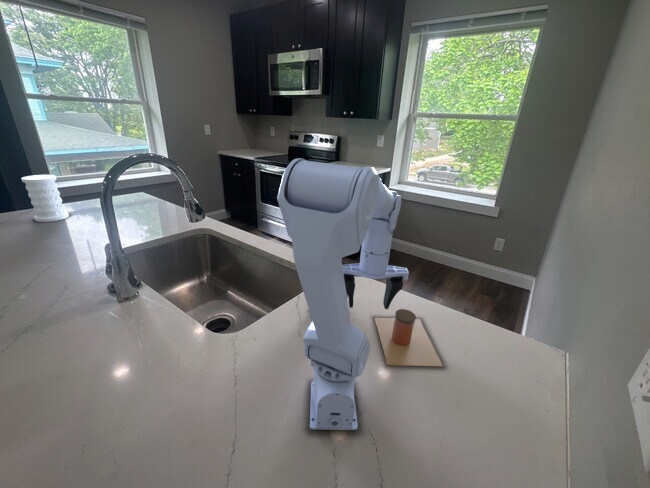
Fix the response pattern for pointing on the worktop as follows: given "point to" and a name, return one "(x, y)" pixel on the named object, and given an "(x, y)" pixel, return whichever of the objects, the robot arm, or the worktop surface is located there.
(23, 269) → the worktop surface
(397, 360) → the kraft paper
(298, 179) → the robot arm
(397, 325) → the spice jar
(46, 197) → the decorative container
